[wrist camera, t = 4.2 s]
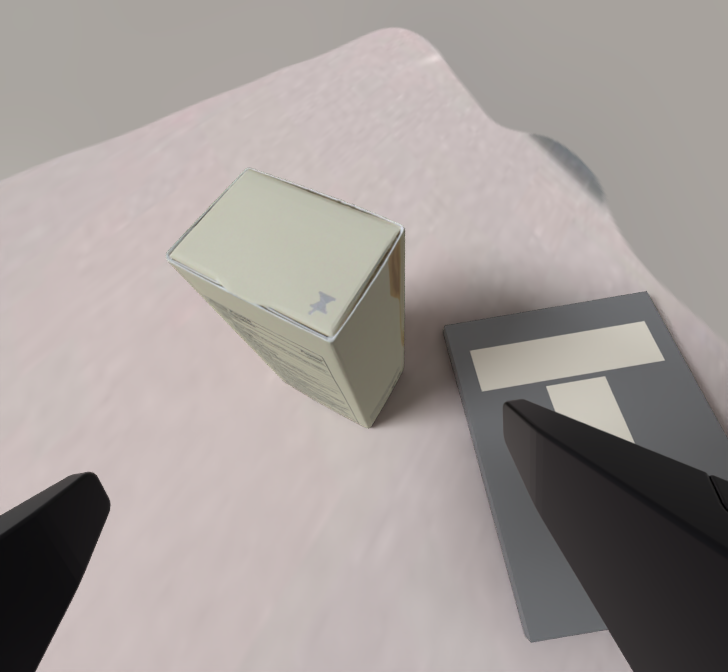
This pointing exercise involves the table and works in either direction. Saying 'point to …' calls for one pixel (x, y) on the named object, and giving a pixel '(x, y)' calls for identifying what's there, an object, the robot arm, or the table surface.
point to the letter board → (583, 403)
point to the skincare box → (305, 287)
